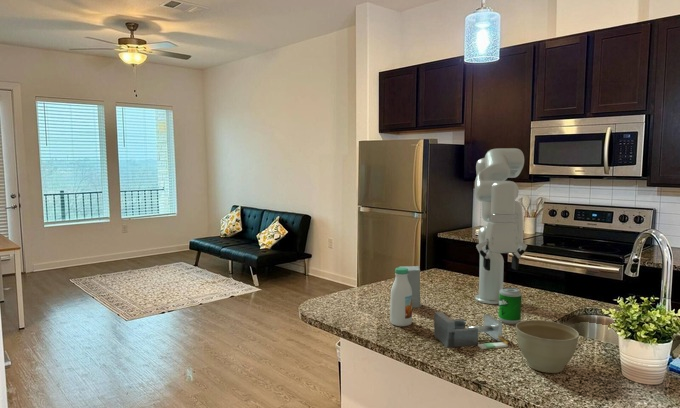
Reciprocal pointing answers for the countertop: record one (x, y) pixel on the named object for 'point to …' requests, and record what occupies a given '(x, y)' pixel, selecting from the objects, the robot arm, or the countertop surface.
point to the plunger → (491, 328)
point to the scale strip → (492, 345)
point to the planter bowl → (546, 344)
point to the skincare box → (414, 284)
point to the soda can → (510, 305)
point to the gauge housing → (453, 331)
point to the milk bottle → (401, 299)
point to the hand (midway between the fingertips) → (500, 269)
